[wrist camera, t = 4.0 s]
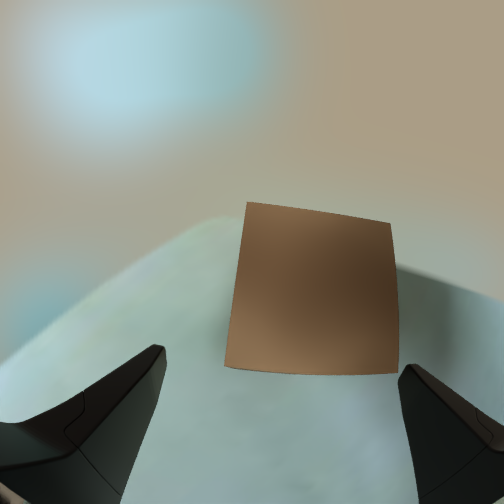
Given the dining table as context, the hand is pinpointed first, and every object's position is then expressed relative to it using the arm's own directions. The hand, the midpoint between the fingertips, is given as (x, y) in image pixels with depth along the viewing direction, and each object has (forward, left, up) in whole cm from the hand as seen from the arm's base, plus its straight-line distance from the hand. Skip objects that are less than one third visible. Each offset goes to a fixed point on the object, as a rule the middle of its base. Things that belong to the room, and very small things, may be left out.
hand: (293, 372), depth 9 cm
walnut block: (+1, -2, -10) cm, 10 cm away
